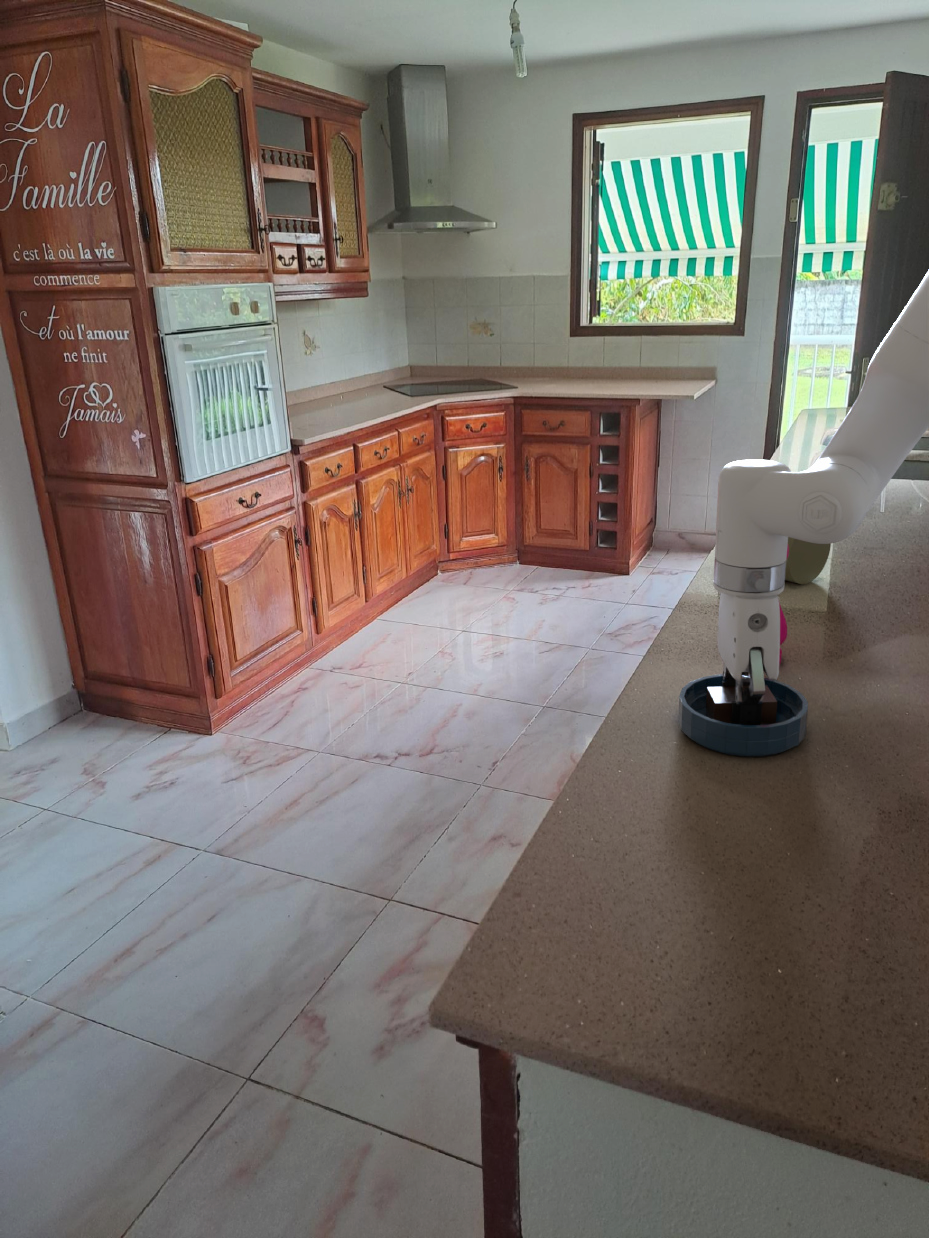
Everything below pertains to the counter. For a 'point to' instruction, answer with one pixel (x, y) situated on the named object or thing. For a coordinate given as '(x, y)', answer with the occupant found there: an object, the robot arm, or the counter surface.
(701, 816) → the counter surface
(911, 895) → the counter surface
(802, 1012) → the counter surface
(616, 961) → the counter surface
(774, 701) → the shiny metal block
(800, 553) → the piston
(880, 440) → the robot arm
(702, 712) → the bowl
